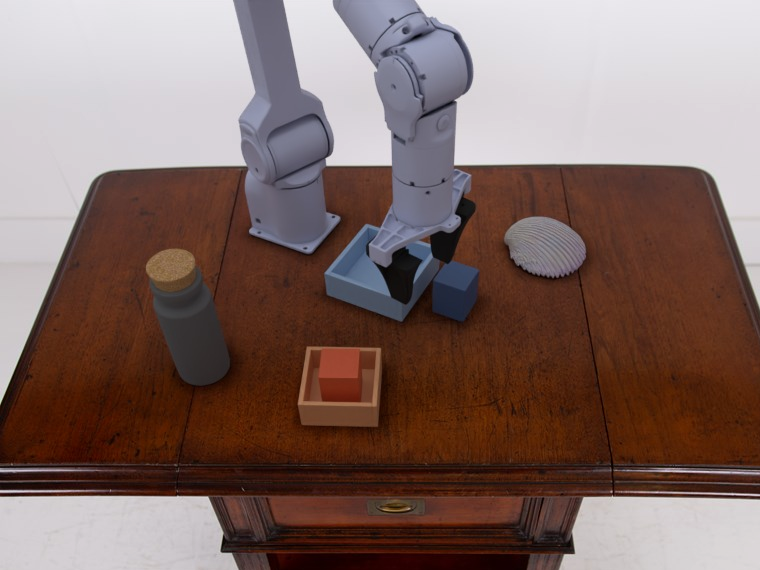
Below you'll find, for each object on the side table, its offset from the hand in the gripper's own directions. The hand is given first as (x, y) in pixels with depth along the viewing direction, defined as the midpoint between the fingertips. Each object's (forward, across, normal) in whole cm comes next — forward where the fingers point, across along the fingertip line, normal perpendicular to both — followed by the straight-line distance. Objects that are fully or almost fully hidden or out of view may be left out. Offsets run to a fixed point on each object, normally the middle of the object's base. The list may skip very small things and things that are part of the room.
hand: (421, 278), depth 80 cm
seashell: (+9, +21, -4) cm, 23 cm away
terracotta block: (+8, -12, +1) cm, 15 cm away
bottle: (+9, -18, +17) cm, 26 cm away
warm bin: (+8, -12, +1) cm, 15 cm away
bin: (+8, +4, +9) cm, 13 cm away
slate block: (+8, +6, -1) cm, 10 cm away
